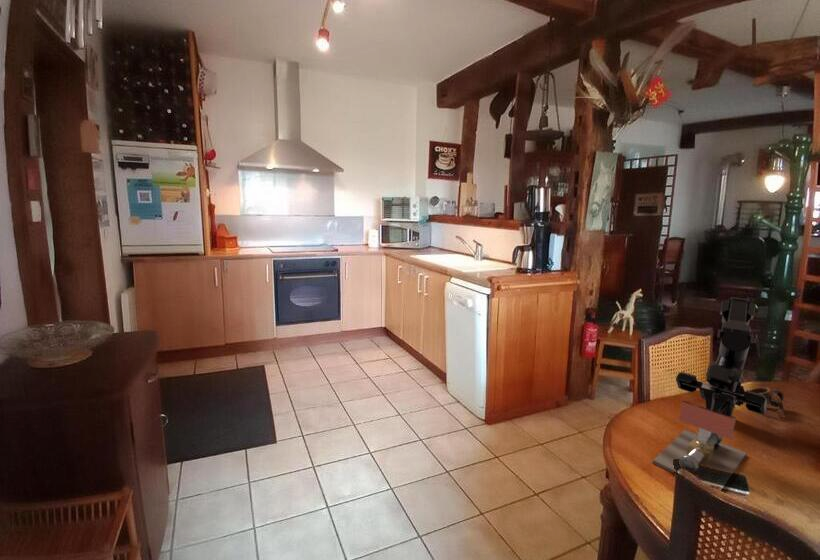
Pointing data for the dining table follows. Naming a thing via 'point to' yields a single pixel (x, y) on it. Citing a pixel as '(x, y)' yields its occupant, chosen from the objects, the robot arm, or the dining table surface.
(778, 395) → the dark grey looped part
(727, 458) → the mounting board
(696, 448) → the pipe and valve
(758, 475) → the dining table surface
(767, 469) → the dining table surface
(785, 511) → the dining table surface
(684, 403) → the valve lever
